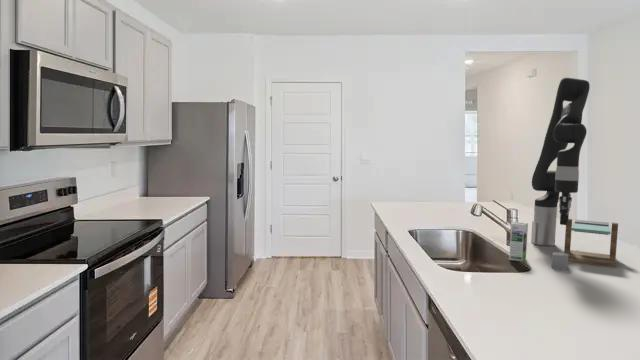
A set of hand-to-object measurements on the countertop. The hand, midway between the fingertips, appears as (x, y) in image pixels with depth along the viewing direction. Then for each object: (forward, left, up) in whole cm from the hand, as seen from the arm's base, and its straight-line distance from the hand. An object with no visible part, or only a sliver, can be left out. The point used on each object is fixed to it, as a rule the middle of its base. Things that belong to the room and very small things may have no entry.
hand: (564, 223), depth 173 cm
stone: (-1, 0, -17) cm, 17 cm away
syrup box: (-14, +8, -17) cm, 23 cm away
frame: (+15, +17, -16) cm, 28 cm away
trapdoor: (+16, +18, -7) cm, 25 cm away
